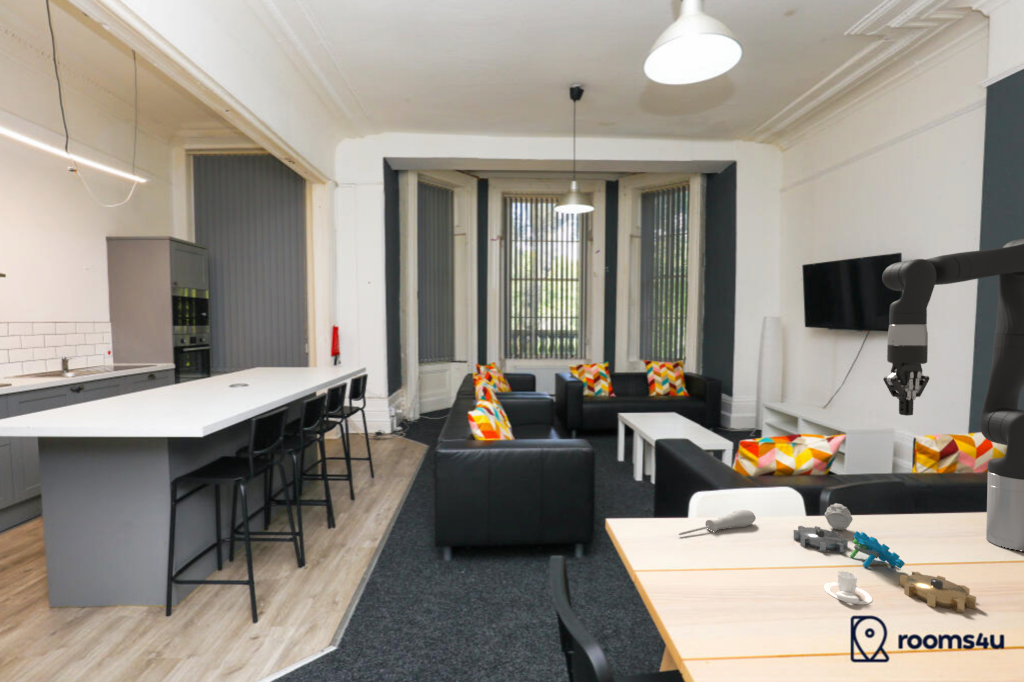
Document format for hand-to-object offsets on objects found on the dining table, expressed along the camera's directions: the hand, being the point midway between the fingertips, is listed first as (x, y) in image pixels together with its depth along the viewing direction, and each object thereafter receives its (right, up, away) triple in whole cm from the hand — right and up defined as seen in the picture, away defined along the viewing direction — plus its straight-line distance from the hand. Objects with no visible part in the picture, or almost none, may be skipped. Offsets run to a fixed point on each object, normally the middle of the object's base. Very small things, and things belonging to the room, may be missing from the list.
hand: (905, 414), depth 116 cm
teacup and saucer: (-32, -33, -20) cm, 50 cm away
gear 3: (-12, -33, -22) cm, 41 cm away
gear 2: (-14, -33, -9) cm, 37 cm away
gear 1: (-19, -32, +2) cm, 37 cm away
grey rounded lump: (-9, -32, +10) cm, 35 cm away
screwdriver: (-42, -32, +10) cm, 54 cm away
